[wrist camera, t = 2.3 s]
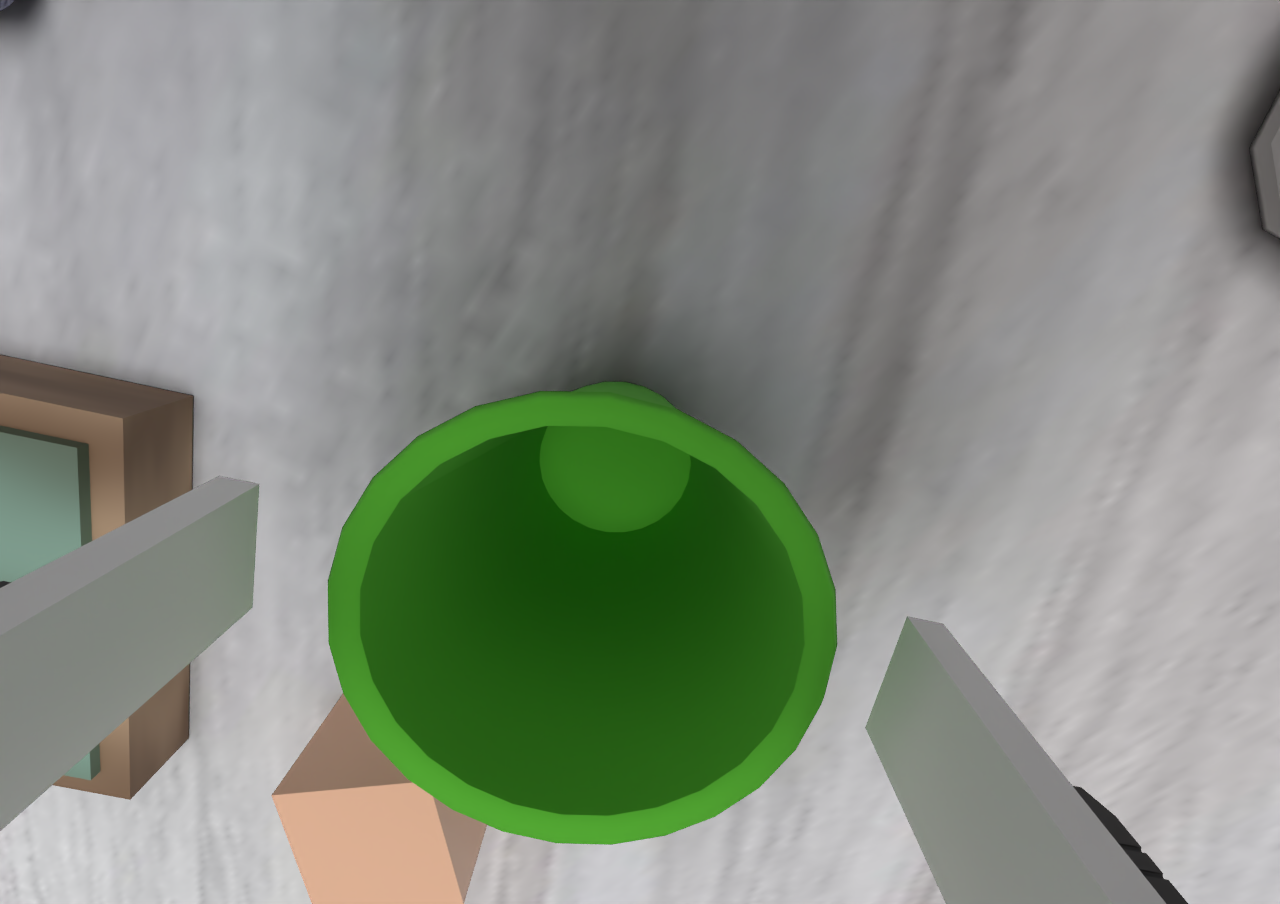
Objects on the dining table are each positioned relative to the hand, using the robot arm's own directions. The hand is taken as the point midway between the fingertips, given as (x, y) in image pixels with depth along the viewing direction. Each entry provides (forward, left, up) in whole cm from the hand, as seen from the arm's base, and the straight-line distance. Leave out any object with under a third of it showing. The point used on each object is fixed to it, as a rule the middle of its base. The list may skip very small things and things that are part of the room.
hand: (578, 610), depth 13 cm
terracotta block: (+13, -5, -9) cm, 16 cm away
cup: (0, 0, -10) cm, 9 cm away
